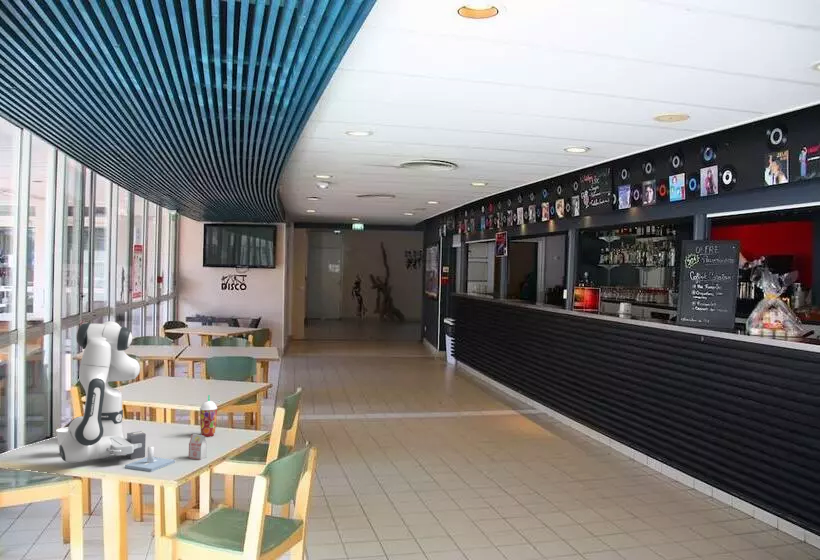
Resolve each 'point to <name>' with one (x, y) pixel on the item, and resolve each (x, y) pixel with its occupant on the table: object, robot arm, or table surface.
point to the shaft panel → (149, 466)
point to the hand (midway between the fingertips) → (137, 442)
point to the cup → (61, 435)
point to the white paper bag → (197, 447)
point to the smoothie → (208, 418)
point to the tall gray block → (134, 439)
